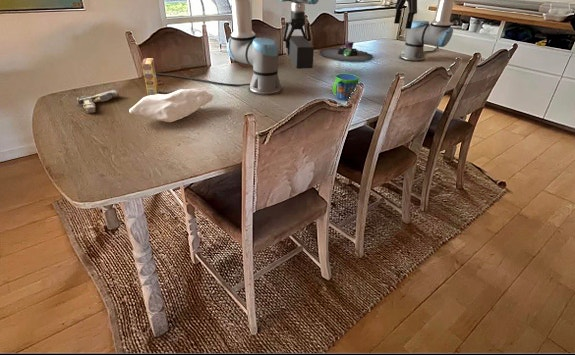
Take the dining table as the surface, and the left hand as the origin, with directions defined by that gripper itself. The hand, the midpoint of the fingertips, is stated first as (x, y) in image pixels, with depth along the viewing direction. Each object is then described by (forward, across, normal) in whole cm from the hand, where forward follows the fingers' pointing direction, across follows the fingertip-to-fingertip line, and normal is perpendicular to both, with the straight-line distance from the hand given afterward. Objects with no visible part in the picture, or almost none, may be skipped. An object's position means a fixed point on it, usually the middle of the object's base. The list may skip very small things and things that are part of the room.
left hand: (296, 53), depth 209 cm
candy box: (+7, -75, -41) cm, 86 cm away
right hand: (-20, +49, -25) cm, 59 cm away
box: (+2, 0, -9) cm, 9 cm away
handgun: (+6, -95, -50) cm, 108 cm away
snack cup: (+7, +13, -52) cm, 55 cm away
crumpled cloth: (+7, -65, -64) cm, 91 cm away
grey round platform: (+8, +39, +25) cm, 47 cm away
